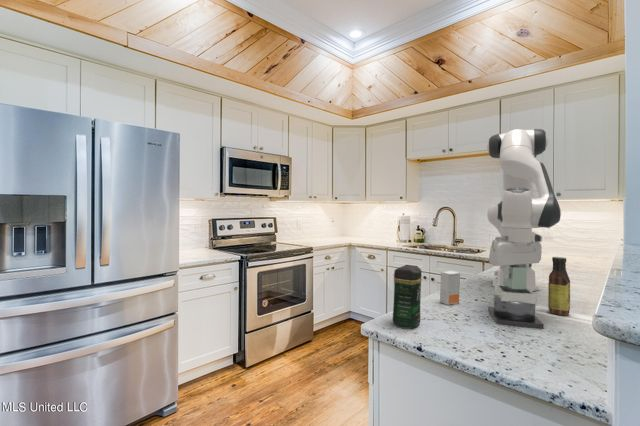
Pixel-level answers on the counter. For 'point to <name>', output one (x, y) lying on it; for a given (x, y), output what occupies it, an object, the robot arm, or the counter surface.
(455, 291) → the skincare box
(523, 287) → the pale green block
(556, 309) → the sauce bottle
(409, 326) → the coffee jar
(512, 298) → the framed dark dome
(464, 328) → the counter surface
